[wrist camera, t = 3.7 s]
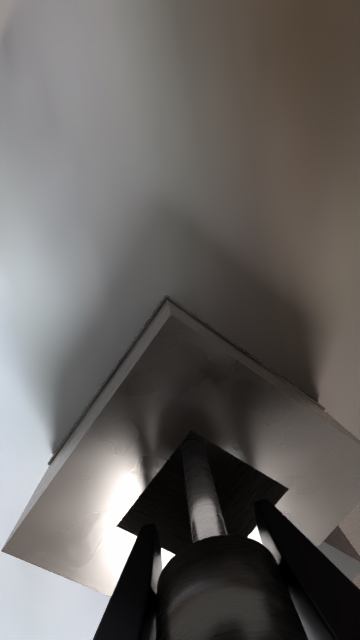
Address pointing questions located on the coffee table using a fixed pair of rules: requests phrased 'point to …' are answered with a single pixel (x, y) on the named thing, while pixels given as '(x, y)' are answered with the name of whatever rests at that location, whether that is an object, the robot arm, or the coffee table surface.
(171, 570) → the plunger
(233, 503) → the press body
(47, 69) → the coffee table surface
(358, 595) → the robot arm
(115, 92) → the coffee table surface
